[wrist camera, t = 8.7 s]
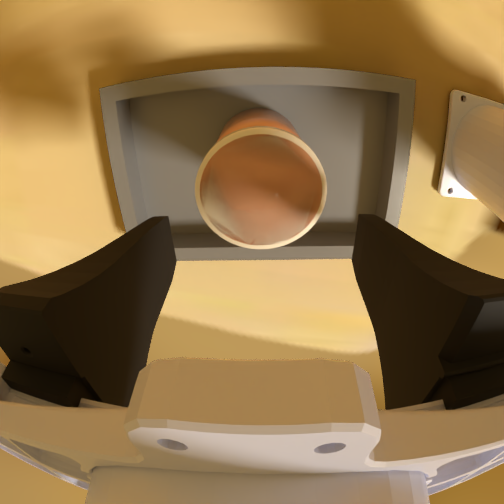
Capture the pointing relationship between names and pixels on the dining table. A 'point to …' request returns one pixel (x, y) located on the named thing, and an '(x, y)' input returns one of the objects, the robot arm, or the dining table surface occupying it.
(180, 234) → the serving tray
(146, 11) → the dining table surface
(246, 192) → the cup
